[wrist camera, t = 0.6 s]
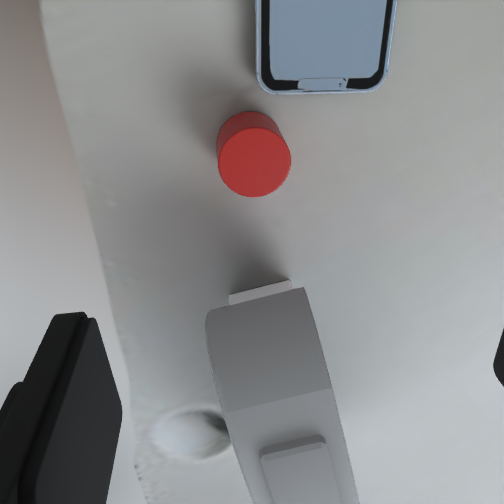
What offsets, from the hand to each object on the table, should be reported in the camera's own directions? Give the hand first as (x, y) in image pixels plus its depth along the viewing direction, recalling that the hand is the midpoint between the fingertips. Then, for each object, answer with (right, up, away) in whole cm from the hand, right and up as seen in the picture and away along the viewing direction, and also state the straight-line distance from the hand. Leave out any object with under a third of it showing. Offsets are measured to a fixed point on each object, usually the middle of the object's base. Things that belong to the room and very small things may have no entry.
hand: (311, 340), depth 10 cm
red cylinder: (-1, +9, +17) cm, 19 cm away
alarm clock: (+1, -7, +27) cm, 28 cm away
